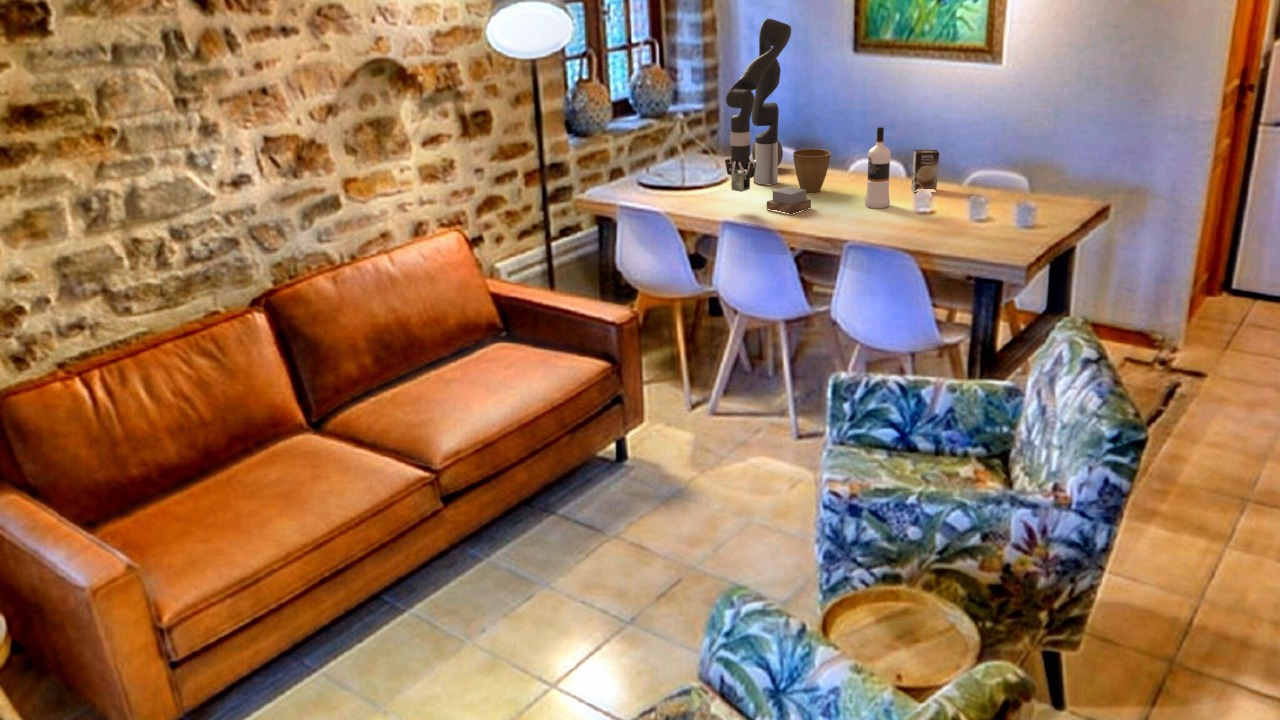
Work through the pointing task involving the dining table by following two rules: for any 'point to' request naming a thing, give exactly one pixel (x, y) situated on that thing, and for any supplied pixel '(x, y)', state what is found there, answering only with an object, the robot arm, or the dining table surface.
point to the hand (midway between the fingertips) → (740, 187)
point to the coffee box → (925, 169)
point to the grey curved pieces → (780, 152)
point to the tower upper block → (789, 195)
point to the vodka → (878, 174)
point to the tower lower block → (789, 206)
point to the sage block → (738, 182)
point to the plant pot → (811, 168)
